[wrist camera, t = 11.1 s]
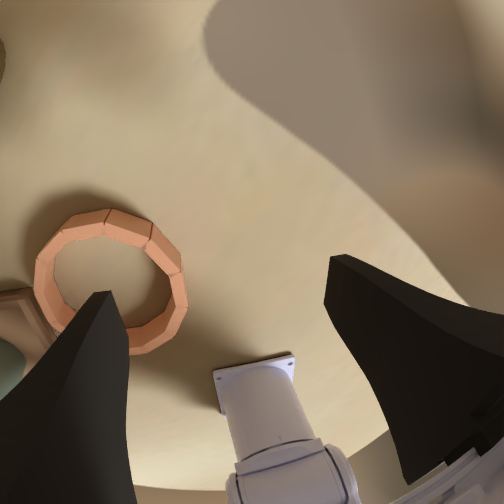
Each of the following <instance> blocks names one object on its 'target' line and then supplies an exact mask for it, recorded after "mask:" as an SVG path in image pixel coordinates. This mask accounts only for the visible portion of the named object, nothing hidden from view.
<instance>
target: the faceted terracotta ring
mask: <svg viewBox="0 0 504 504" xmlns="http://www.w3.org/2000/svg"><path fill="white" fill-rule="evenodd" d="M151 224H152V222H149V221H146V220H144V219H141V218H138V217H135V216H132V215H130V214H127V213H124V212H121V211H118V210H116V209H112V210H111V208H109V209H104V210H98V211H93V212H88V213H83V214H78V215H73V216H72V217H70V218H69V219H68V220H67V221H66V222H65V223H64V224H63V226H62V227H61V228H60V229H59V230H58V231H57V232H56V233H55V234H54V235H53V236H52V237H51V238H50V239H49V241H48V242H47V243H46V245H45V246H44V247H43V249H42V250H41V252H40V253H39V254H38V256H37V258H36V264H35V276H34V294H35V297H36V299H37V301H38V303H39V305H40V307H41V309H42V311H43V313H44V315H45V317H46V319H47V321H48V322H49V323H51V324H50V325H51V326H52V327H53V328H55V329H56V330H57V331H58V332H60V333H62V332H63V330H64V329H65V328H66V326H67V325H68V324H69V322H70V321H71V320H72V319H73V317H74V316H75V315H76V312H75V311H74V310H73V309H71V308H70V307H69V306H68V305H67V304H66V303H65V302H64V301H63V298H62V296H61V294H60V291H59V289H58V287H57V284H56V282H55V280H54V277H53V271H54V264H55V257H56V254H57V253H58V252H59V250H60V249H61V248H62V247H63V246H64V245H65V244H66V243H67V242H70V241H76V240H81V239H87V238H93V237H98V236H107V237H110V238H112V239H115V240H118V241H121V242H124V243H127V244H130V245H133V246H135V247H138V248H141V249H143V250H144V251H145V252H146V253H147V254H148V255H149V256H150V257H151V258H152V259H153V260H154V261H155V262H156V264H157V265H158V266H159V267H160V268H161V269H162V270H163V271H164V272H165V273H166V274H167V275H168V276H169V279H170V283H171V288H172V292H173V293H172V295H171V298H170V300H169V302H168V305H167V307H166V309H165V312H163V313H162V314H160V315H159V316H157V317H156V318H154V319H153V320H151V321H150V322H149V323H147V324H146V325H144V326H143V327H135V328H127V329H126V331H127V334H128V336H129V356H130V355H139V354H146V353H149V352H150V351H152V350H154V349H155V348H157V347H159V346H160V345H162V344H163V343H165V342H167V341H168V340H170V339H172V338H173V337H174V336H175V335H176V333H177V331H178V328H179V326H180V324H181V322H182V320H183V318H184V316H185V314H186V312H187V310H188V299H187V289H186V283H185V278H184V272H183V267H182V261H181V255H180V253H179V252H178V251H177V250H176V248H175V247H174V246H173V245H172V244H171V243H170V242H169V241H168V239H167V238H166V237H165V236H164V235H163V234H162V233H161V232H160V230H159V229H158V228H157V227H156V226H155V225H154V224H152V225H151Z"/></svg>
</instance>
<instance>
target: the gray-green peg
mask: <svg viewBox="0 0 504 504" xmlns="http://www.w3.org/2000/svg"><path fill="white" fill-rule="evenodd" d="M25 367H26V358H25V356H24V355H23V353H22V352H21V351H20V350H19V349H18V348H17V347H15V346H14V345H13V344H11V343H9V342H7V341H4V340H0V400H1V399H3V398H4V397H5V396H6V395H7V394H8V393H9V392H10V391H11V390H12V389H13V388H14V387H15V386H16V385H17V384H18V383H19V382H20V381H21V380H22V377H23V374H24V370H25Z"/></svg>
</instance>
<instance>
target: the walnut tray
mask: <svg viewBox="0 0 504 504" xmlns="http://www.w3.org/2000/svg"><path fill="white" fill-rule="evenodd" d="M56 339H57V337H56V335H55V333H54V332H53V330H52V328H51V326H50V324H49V323H48V321H47V319H46V317H45V315H44V313H43V311H42V309H41V307H40V305H39V303H38V301H37V299H36V297H35V295H34V292H33V290H32V288H31V287H30V288H23V289H16V290H9V291H1V292H0V340H4V341H7V342H9V343H11V344H13V345H14V346H15V347H17V348H18V349H19V350H20V351H21V352H22V353H23V355H24V356H25V358H26V367H25V370H24V374H23V377H22V379H23V378H24V377H25V376H26V375H27V373H28V372H29V371H30V370H31V369H32V368H33V367H34V366H35V365H36V363H37V362H38V361H39V360H40V359H41V358H42V356H43V355H44V354H45V353H46V351H47V350H48V349H49V348H50V346H51V345H52V344H53V343H54V341H55V340H56Z"/></svg>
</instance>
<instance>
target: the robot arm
mask: <svg viewBox="0 0 504 504" xmlns="http://www.w3.org/2000/svg"><path fill="white" fill-rule="evenodd" d="M324 306H325V308H326V310H327V312H328V315H329V317H330V319H331V321H332V323H333V325H334V327H335V329H336V330H337V332H338V334H339V335H340V337H341V338H342V340H343V341H344V343H345V344H346V346H347V348H348V349H349V351H350V352H351V354H352V355H353V357H354V358H355V360H356V361H357V363H358V365H359V366H360V368H361V369H362V371H363V372H364V374H365V376H366V377H367V379H368V381H369V383H370V385H371V387H372V389H373V391H374V393H375V395H376V398H377V400H378V402H379V404H380V406H381V409H382V411H383V414H384V416H385V419H386V421H387V423H388V426H389V429H390V432H391V435H392V437H393V441H394V443H395V446H396V450H397V454H398V457H399V461H400V464H401V468H402V473H403V477H404V479H405V481H406V482H407V484H408V485H411V484H412V483H414V482H416V481H417V480H419V479H421V478H422V477H424V476H425V475H427V474H428V473H430V472H431V471H433V470H434V469H436V468H437V467H439V466H440V465H442V464H443V463H444V462H445V463H446V464H447V466H448V467H447V468H446V469H444V470H443V471H441V472H440V473H439V474H437V475H436V476H434V477H433V478H431V479H430V480H428V481H427V482H425V483H424V484H422V485H421V486H419V487H418V488H416V489H414V490H413V491H411V492H409V493H407V494H406V495H404V496H402V497H401V498H399V499H397V500H395V501H393V502H392V503H390V504H429V503H430V502H431V501H433V500H434V499H436V498H437V497H439V496H440V495H442V499H441V500H440V501H438V502H436V503H434V504H504V315H501V314H496V313H491V312H487V311H482V310H478V309H475V308H471V307H468V306H464V305H461V304H458V303H455V302H452V301H449V300H447V299H444V298H441V297H438V296H436V295H433V294H431V293H428V292H426V291H424V290H422V289H419V288H417V287H415V286H413V285H410V284H408V283H406V282H404V281H402V280H400V279H398V278H396V277H394V276H392V275H390V274H388V273H386V272H384V271H382V270H380V269H378V268H376V267H374V266H372V265H370V264H368V263H366V262H363V261H361V260H359V259H357V258H355V257H352V256H350V255H347V254H343V255H337V256H331V257H330V262H329V270H328V277H327V284H326V291H325V298H324ZM129 364H130V363H129V336H128V334H127V331H126V329H125V326H124V324H123V321H122V319H121V316H120V314H119V311H118V308H117V306H116V303H115V300H114V298H113V295H112V292H111V290H110V291H102V292H95V293H93V294H92V295H91V296H90V297H89V299H88V300H87V301H86V302H85V303H84V305H83V306H82V307H81V308H80V310H79V311H78V312H77V313H76V315H75V316H74V317H73V319H72V320H71V321H70V322H69V324H68V325H67V326H66V328H65V329H64V330H63V332H62V333H61V334H60V335H59V337H58V338H57V339H56V340H55V341H54V343H53V344H52V345H51V346H50V348H49V349H48V350H47V351H46V353H45V354H44V355H43V356H42V358H41V359H40V360H39V361H38V362H37V363H36V365H35V366H34V367H33V368H32V369H31V370H30V371H29V372H28V373H27V375H26V376H25V377H24V378H23V379H22V380H21V381H20V382H19V383H18V384H17V385H16V386H15V387H14V388H13V389H12V390H11V391H10V392H9V393H8V394H7V395H6V396H5V397H4V398H3V399H1V400H0V504H137V500H136V496H135V492H134V487H133V482H132V477H131V471H130V465H129V458H128V450H127V440H126V406H127V390H128V377H129ZM294 367H295V356H294V355H287V356H283V357H279V358H274V359H270V360H265V361H261V362H256V363H251V364H246V365H241V366H236V367H230V368H225V369H219V370H215V371H214V372H213V377H214V382H215V386H216V391H217V395H218V399H219V404H220V408H221V412H222V416H223V418H227V421H228V425H229V429H230V433H231V437H232V441H233V445H234V449H235V453H236V456H237V460H238V463H235V464H234V465H235V468H236V473H231V474H230V475H229V478H228V479H227V481H226V494H227V498H228V503H229V504H361V501H360V498H359V495H358V487H357V482H356V479H355V476H354V473H353V471H352V468H351V466H350V464H349V462H348V460H347V458H346V457H345V455H344V453H343V452H342V451H341V449H340V448H338V447H336V446H333V445H332V444H327V445H325V446H324V445H323V443H322V441H321V439H320V438H317V439H316V437H315V435H314V433H313V431H312V428H311V426H310V424H309V421H308V419H307V417H306V415H305V412H304V410H303V408H302V405H301V403H300V401H299V398H298V396H297V394H296V391H295V389H294V387H293V385H292V382H293V375H294Z"/></svg>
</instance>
